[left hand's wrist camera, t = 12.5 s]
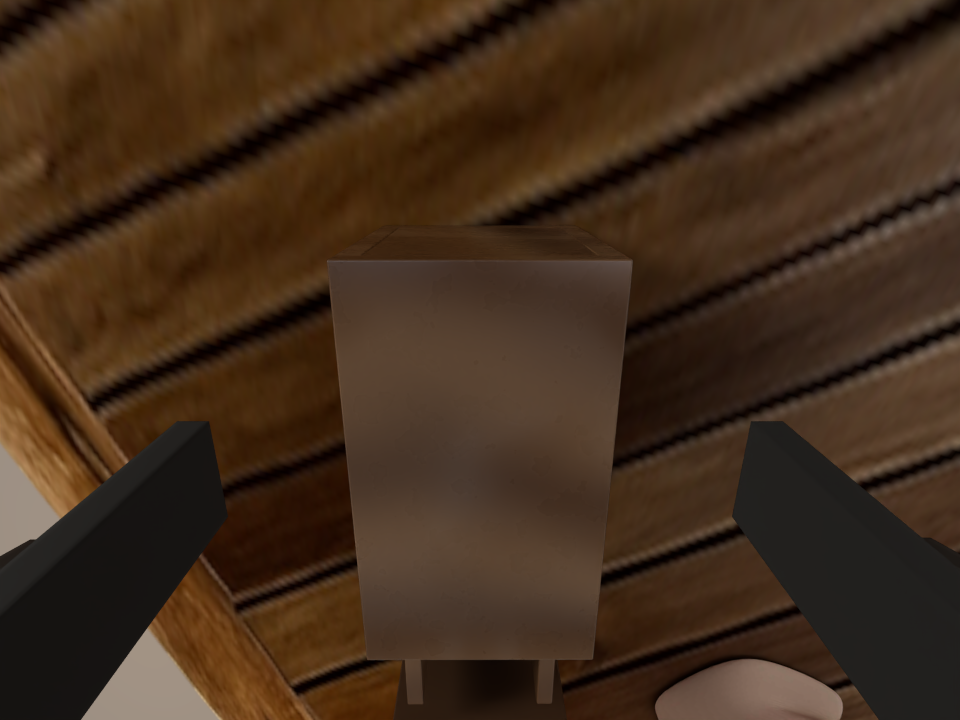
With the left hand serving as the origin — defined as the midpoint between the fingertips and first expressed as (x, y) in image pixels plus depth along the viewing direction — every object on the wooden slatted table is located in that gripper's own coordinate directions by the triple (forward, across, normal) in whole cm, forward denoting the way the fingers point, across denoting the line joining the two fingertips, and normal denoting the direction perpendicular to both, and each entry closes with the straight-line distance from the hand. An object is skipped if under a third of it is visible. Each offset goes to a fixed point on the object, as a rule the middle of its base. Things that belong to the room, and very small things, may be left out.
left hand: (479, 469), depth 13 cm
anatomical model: (+17, +20, -32) cm, 42 cm away
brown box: (+17, 0, -5) cm, 18 cm away
